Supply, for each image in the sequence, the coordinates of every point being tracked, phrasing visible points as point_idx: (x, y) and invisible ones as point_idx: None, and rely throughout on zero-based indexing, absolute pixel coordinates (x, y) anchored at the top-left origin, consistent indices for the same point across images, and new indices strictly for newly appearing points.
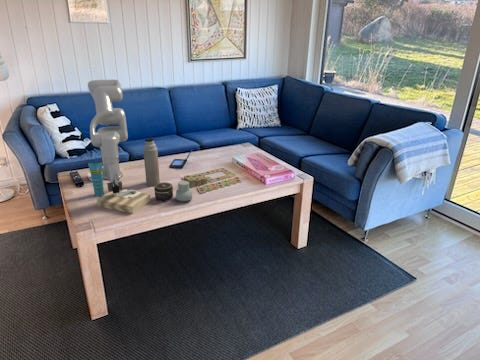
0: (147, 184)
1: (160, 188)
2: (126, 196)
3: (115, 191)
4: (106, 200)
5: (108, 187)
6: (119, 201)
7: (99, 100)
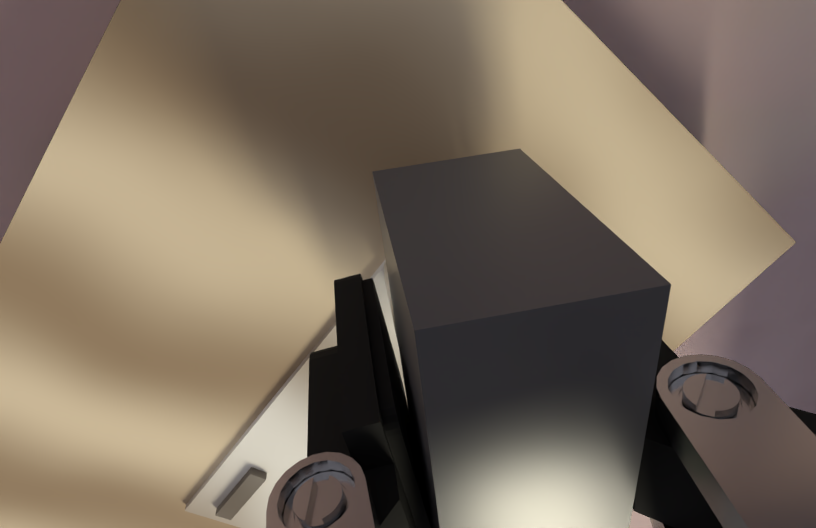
0: None
1: None
2: (304, 440)
3: (317, 369)
4: (152, 58)
5: (396, 266)
6: (88, 348)
7: None
